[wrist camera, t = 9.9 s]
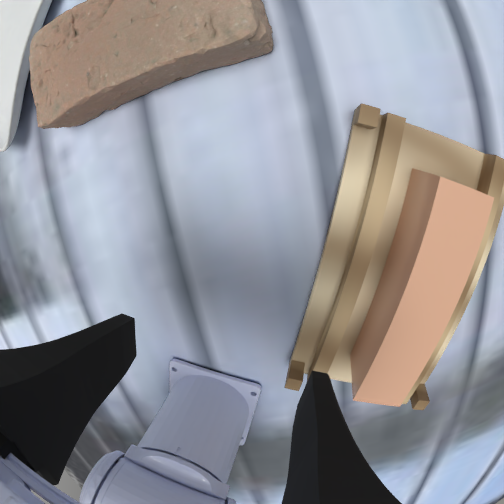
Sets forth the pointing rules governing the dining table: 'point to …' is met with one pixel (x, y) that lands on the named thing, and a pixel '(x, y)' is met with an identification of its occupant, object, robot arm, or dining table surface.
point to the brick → (135, 51)
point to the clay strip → (418, 286)
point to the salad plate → (16, 58)
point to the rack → (382, 238)
